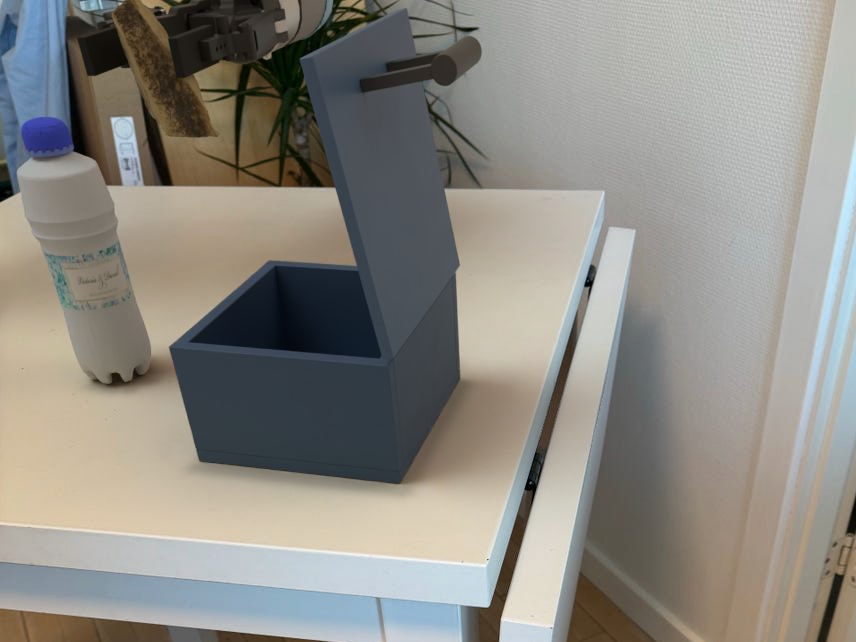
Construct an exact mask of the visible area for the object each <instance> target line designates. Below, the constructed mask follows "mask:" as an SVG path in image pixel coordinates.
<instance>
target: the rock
mask: <svg viewBox="0 0 856 642" xmlns="http://www.w3.org/2000/svg"><path fill="white" fill-rule="evenodd" d="M149 9H150V8H149V7H148V5H146V4H144V3H143V1H142V0H124V1H123V2H122V3H121V4H119V5H118V6H116V8H115V9H113V10H112V12H111V18H112V19H113V20H114V24H115V27H116V29H117V31H118V35H119V37H120V41H121V44H122V47H123V49H124V53H125V55H126V57H127V59H128V62H129V65H130V68H129V69H130V70H131V72H132V74H133V77H134V81H135V83H136V86H137V89H138V91H139V93H140V96H141V97H142V98H143V101H144V104H145V106H146V108H147V111H148V113H149V115H150V116H151V117H152V118H153V119H154V120H156V123H158V124H159V125H160V127H161V130H162V131H163V132H164V133H165V136H168V137H176V138H194V139H195V138H197V139H199V138H208V137H213V138H217V137H219V136H220V132H219V131H218V130H216V128H215V127H214V125H213V124H212V121H211V117H210V113H209V110H208V108H207V107H206V106H205V102H204V98H203V97H202V96H203V95H202V92H201V87H200V84H199V82H198V80H197V78H196V76H195V74H192V75H190V76H188V77H186V78H176V74H175V69H174V65H173V60H172V55H171V51H170V46H169V42H168V38H169V37H168V35H167V32H166V31H165V29H164V28H163V26H162V25H161V24H160V22H158V21H157V19H156V16H155V15H154V13H153V12H151V11H150V10H149Z"/></svg>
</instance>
